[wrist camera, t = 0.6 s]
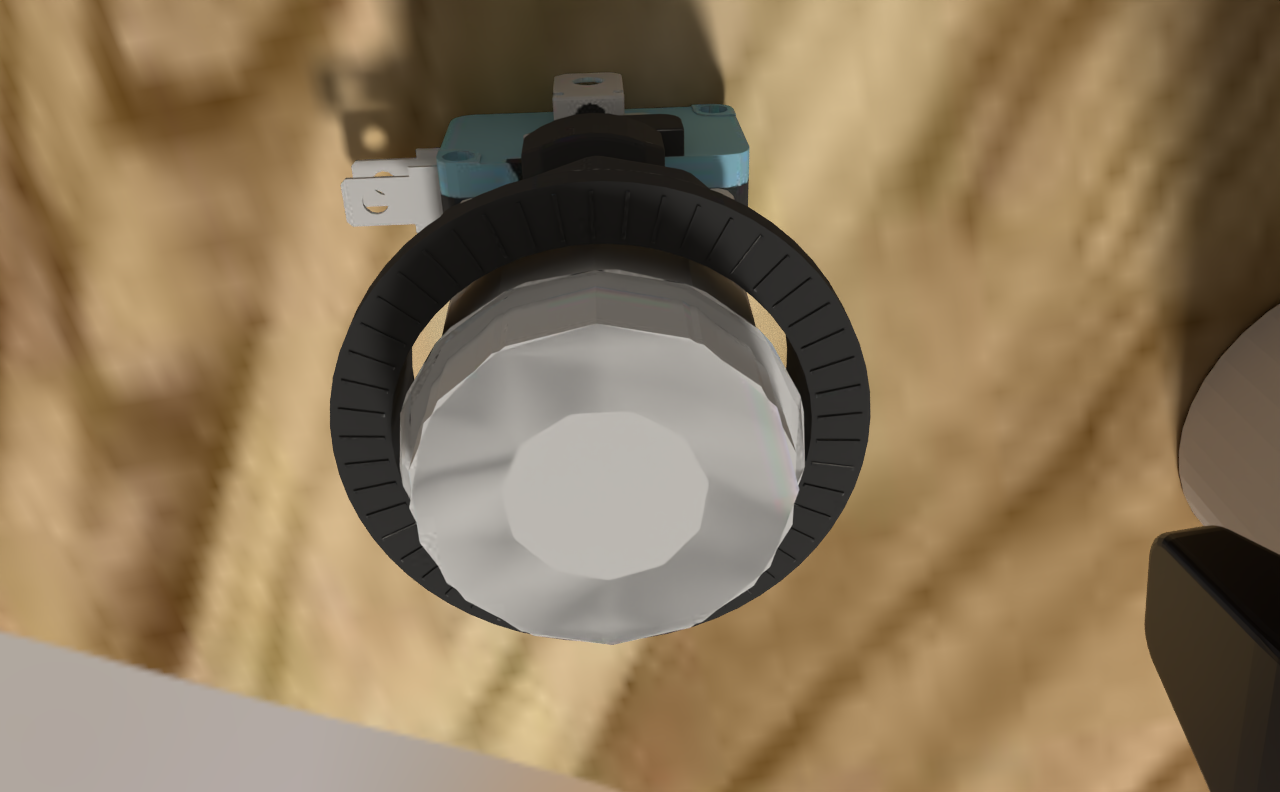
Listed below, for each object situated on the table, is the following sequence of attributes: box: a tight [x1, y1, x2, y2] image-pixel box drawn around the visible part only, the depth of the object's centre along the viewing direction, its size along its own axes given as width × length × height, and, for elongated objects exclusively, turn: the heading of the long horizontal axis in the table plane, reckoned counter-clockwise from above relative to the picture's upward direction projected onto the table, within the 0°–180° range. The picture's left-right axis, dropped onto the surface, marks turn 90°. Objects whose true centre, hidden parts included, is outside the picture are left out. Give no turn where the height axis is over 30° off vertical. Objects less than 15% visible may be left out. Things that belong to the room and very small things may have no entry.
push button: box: [330, 72, 870, 645], centre depth 14 cm, size 7×5×10 cm
